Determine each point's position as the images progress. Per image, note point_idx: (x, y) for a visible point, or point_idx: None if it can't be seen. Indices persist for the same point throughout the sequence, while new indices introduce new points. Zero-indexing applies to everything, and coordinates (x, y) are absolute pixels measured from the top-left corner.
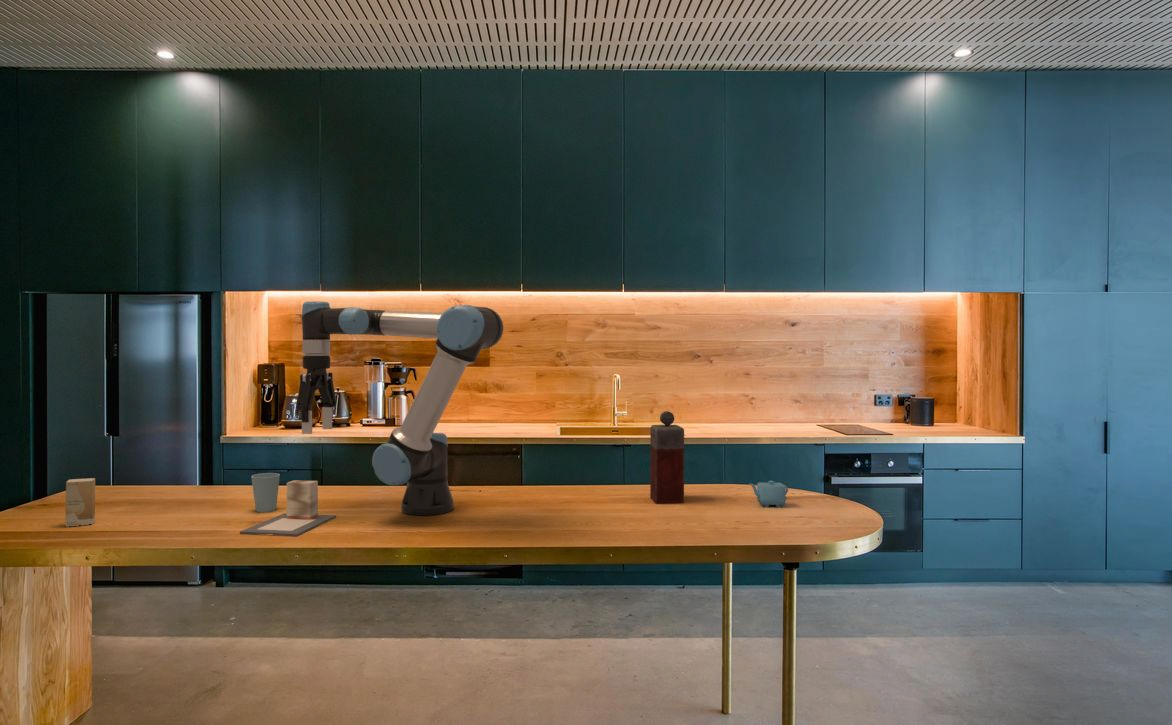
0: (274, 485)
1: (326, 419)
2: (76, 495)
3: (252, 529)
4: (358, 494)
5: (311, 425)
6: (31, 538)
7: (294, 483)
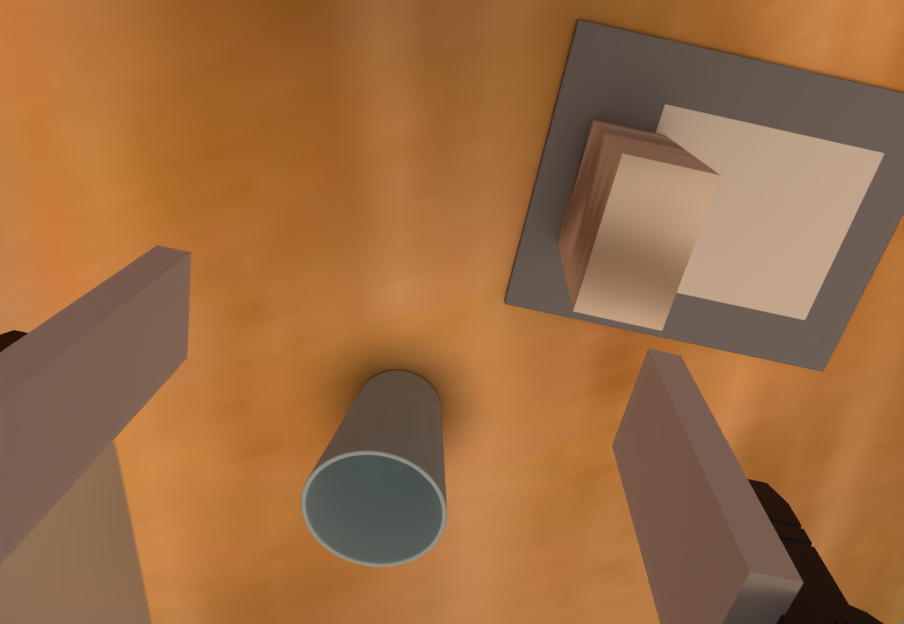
0: (407, 432)
1: (122, 371)
2: None
3: (801, 334)
4: (4, 65)
5: (690, 409)
6: None
7: (679, 281)
